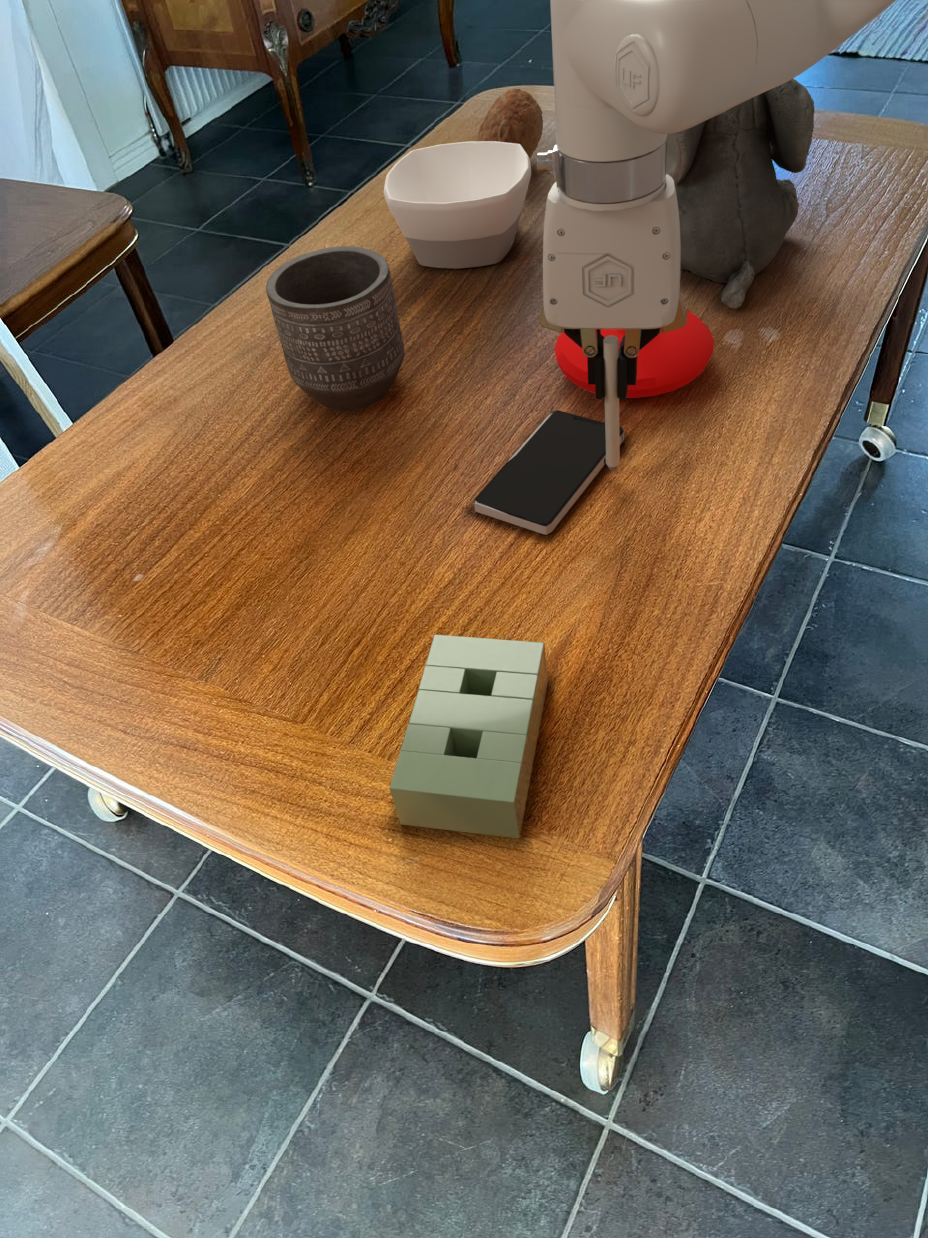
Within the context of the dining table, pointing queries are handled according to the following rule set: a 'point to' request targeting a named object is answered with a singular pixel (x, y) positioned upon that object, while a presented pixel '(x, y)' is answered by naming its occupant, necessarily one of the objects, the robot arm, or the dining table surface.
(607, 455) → the grey cylindrical rod
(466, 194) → the bowl
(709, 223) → the stuffed elephant
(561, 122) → the robot arm
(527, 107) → the coconut
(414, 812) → the pen holder
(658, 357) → the red disc with nozzle
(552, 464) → the smartphone
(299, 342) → the planter
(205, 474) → the dining table surface
